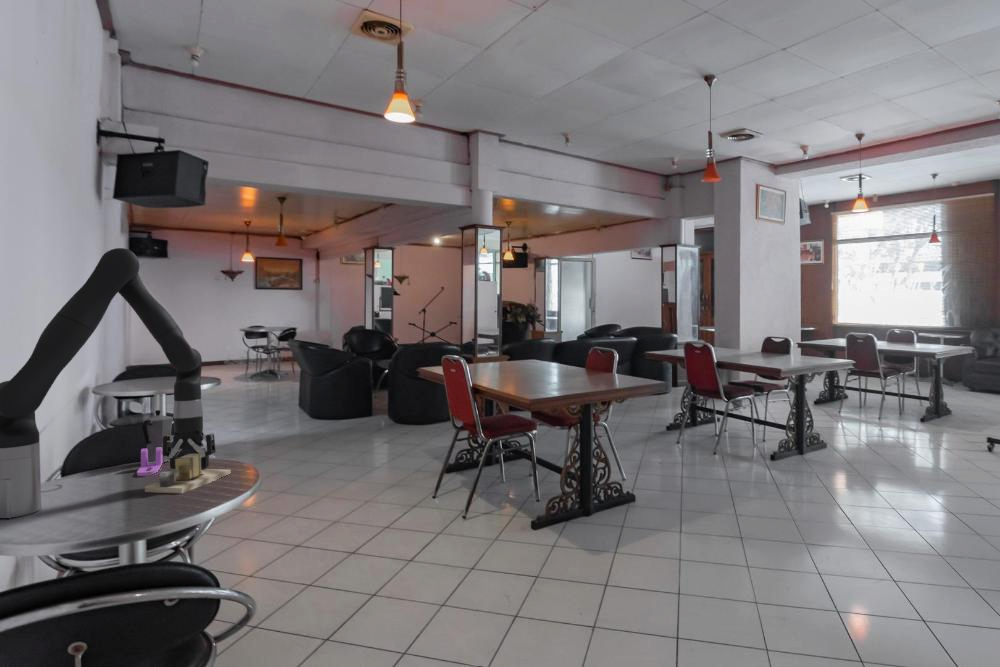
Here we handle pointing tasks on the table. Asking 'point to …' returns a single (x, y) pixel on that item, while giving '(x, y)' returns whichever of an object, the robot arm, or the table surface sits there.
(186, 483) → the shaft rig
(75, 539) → the table surface
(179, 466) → the tan rectangular block
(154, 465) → the bracket
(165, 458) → the coffeepot
